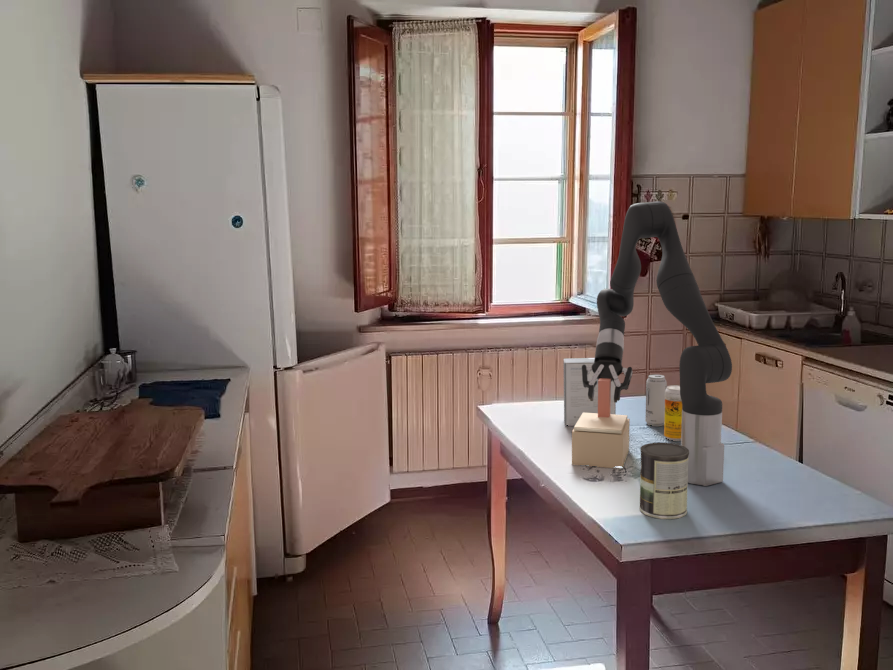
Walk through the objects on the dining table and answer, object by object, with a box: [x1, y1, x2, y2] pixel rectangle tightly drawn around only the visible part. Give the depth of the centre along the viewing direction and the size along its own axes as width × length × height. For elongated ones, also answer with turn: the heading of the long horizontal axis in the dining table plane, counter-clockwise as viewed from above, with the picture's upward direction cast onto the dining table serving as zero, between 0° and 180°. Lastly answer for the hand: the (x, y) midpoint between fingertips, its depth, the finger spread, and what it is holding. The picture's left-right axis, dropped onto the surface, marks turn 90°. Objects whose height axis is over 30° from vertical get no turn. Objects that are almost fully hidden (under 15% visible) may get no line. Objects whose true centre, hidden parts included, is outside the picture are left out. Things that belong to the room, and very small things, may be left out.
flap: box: [573, 378, 628, 434], centre depth 212 cm, size 15×12×11 cm
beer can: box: [663, 384, 682, 442], centre depth 229 cm, size 6×6×15 cm
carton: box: [571, 418, 631, 469], centre depth 214 cm, size 16×13×9 cm
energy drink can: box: [644, 374, 668, 427], centre depth 244 cm, size 6×6×15 cm
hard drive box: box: [563, 357, 617, 427], centre depth 246 cm, size 16×8×20 cm, turn 84°
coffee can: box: [639, 442, 689, 520], centre depth 176 cm, size 10×10×14 cm
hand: (603, 400), depth 215 cm, fingers open, 5 cm apart
